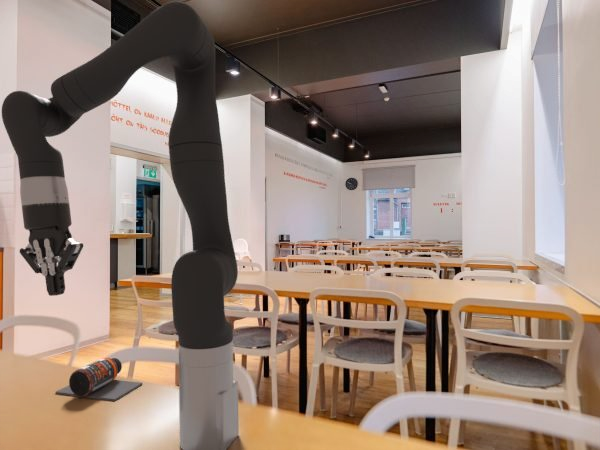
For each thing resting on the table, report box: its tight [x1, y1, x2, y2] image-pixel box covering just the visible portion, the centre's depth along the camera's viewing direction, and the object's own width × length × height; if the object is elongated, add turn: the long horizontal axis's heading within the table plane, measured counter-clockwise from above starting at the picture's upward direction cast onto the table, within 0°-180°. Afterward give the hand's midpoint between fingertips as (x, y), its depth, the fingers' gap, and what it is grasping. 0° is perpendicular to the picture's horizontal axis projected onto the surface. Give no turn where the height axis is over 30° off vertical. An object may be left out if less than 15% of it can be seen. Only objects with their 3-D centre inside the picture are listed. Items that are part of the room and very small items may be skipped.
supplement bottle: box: [68, 357, 123, 398], centre depth 90 cm, size 6×6×11 cm
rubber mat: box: [55, 379, 143, 402], centre depth 90 cm, size 16×9×1 cm, turn 75°
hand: (56, 294), depth 74 cm, fingers closed
